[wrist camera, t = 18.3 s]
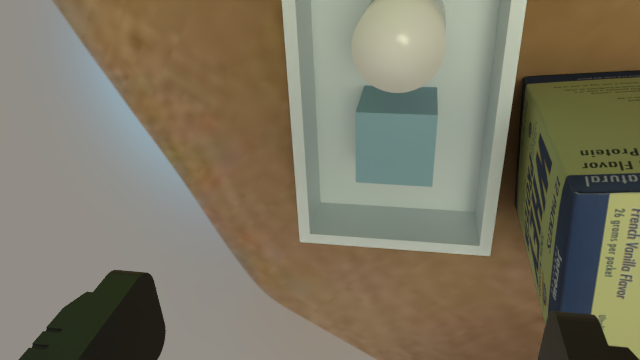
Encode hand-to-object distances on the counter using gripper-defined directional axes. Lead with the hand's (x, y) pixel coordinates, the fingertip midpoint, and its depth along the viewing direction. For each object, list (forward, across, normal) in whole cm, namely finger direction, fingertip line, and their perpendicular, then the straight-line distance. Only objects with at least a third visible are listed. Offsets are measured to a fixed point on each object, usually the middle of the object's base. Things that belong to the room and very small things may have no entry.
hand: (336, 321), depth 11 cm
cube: (+28, 0, +7) cm, 28 cm away
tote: (+28, 0, +6) cm, 29 cm away
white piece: (+27, 0, 0) cm, 27 cm away
